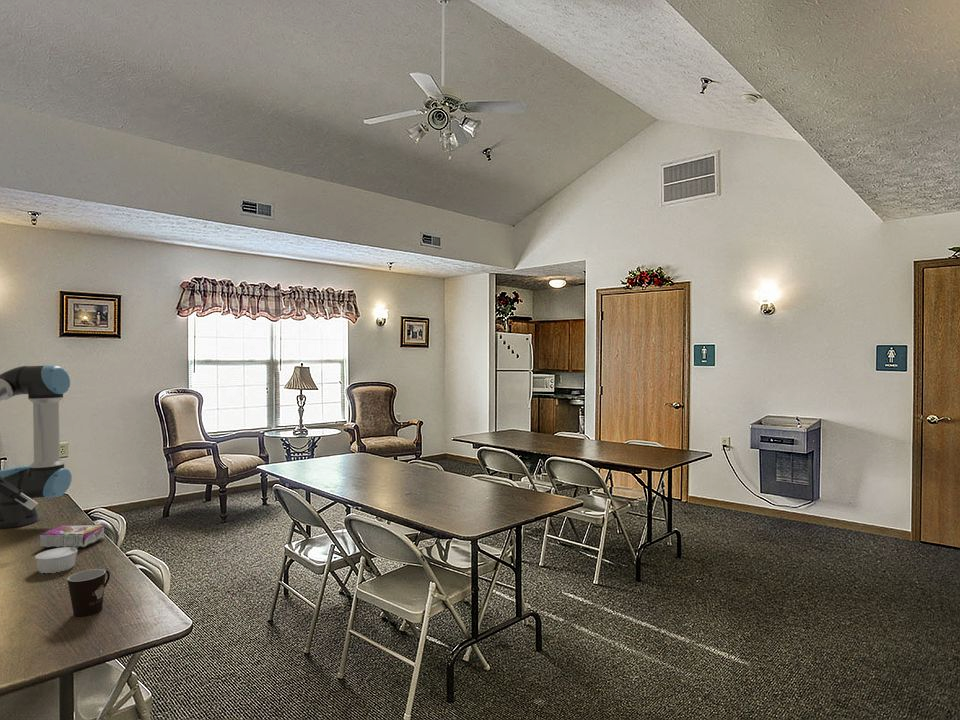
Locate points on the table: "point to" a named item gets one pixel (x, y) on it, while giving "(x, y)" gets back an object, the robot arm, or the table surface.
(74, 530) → the candy bar box
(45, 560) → the ramekin
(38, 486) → the robot arm
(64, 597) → the table surface
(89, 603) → the coffee mug
